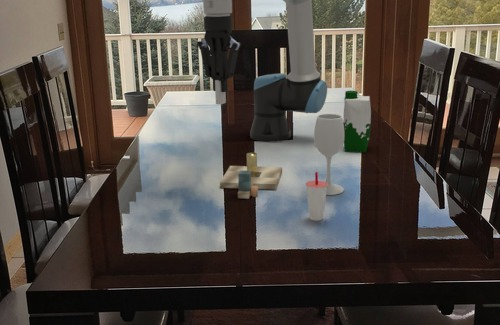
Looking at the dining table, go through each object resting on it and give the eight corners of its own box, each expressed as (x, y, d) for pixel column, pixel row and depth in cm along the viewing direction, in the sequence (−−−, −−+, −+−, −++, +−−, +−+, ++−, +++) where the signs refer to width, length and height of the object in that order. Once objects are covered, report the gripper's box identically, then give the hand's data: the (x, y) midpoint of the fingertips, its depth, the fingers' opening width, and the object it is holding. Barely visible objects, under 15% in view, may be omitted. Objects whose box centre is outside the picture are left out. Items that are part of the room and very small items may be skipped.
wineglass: (346, 186, 174) (348, 113, 168) (340, 196, 166) (342, 120, 160) (316, 183, 177) (317, 112, 171) (309, 193, 169) (310, 118, 163)
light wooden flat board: (214, 197, 167) (213, 174, 165) (230, 170, 190) (229, 150, 188) (272, 199, 165) (272, 176, 163) (282, 172, 187) (282, 152, 186)
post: (245, 179, 182) (244, 153, 179) (253, 177, 183) (253, 152, 181) (250, 182, 179) (250, 156, 177) (259, 180, 181) (258, 154, 178)
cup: (311, 223, 149) (312, 176, 145) (301, 216, 153) (301, 170, 150) (331, 220, 151) (332, 173, 147) (320, 212, 155) (320, 167, 152)
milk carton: (343, 145, 216) (344, 89, 210) (369, 146, 214) (371, 89, 208) (341, 152, 208) (343, 93, 202) (369, 153, 206) (371, 94, 200)
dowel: (249, 195, 168) (248, 186, 168) (255, 194, 170) (254, 185, 169) (253, 197, 167) (252, 188, 166) (259, 196, 168) (259, 187, 167)
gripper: (189, 15, 162) (193, 103, 169) (230, 16, 156) (233, 108, 162) (206, 13, 168) (209, 99, 175) (246, 14, 162) (248, 103, 169)
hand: (220, 103), depth 169 cm, fingers closed
